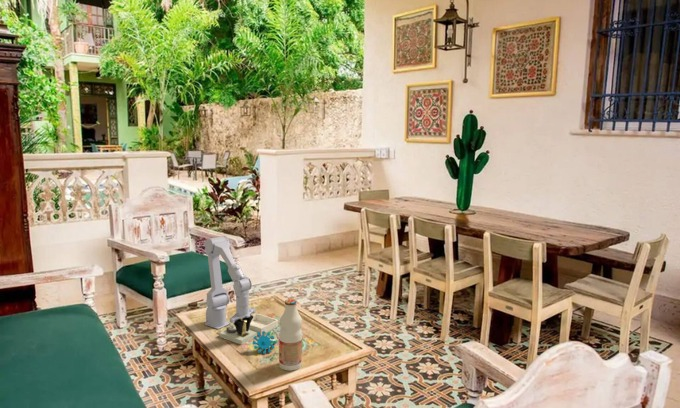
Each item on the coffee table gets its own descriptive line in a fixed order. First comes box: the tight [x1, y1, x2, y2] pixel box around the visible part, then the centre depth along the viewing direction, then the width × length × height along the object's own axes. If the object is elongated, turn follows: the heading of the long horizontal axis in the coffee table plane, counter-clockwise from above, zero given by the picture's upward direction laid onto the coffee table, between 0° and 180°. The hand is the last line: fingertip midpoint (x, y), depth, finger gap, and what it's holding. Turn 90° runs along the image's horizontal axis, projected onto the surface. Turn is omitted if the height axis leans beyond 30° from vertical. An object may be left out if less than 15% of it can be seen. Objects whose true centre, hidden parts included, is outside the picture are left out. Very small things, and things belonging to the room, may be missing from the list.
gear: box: [252, 331, 279, 355], centre depth 205 cm, size 11×6×10 cm
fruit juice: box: [278, 298, 303, 371], centre depth 190 cm, size 9×9×28 cm
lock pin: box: [240, 318, 247, 337], centre depth 214 cm, size 4×4×9 cm
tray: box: [249, 312, 279, 337], centre depth 227 cm, size 14×12×4 cm
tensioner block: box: [218, 324, 258, 346], centre depth 216 cm, size 14×10×4 cm
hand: (242, 332), depth 214 cm, fingers closed on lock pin, 4 cm apart
